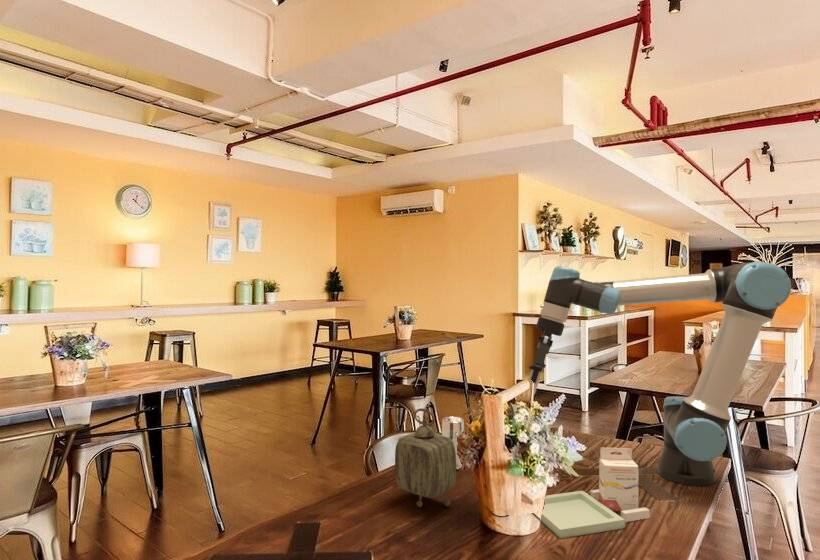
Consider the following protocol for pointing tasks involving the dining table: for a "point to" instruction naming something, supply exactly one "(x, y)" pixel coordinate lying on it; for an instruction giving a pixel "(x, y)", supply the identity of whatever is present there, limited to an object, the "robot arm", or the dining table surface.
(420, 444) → the tabletop clock
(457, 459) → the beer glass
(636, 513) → the cartridge bay
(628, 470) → the ink cartridge box
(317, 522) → the dining table surface
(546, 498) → the sage tray
